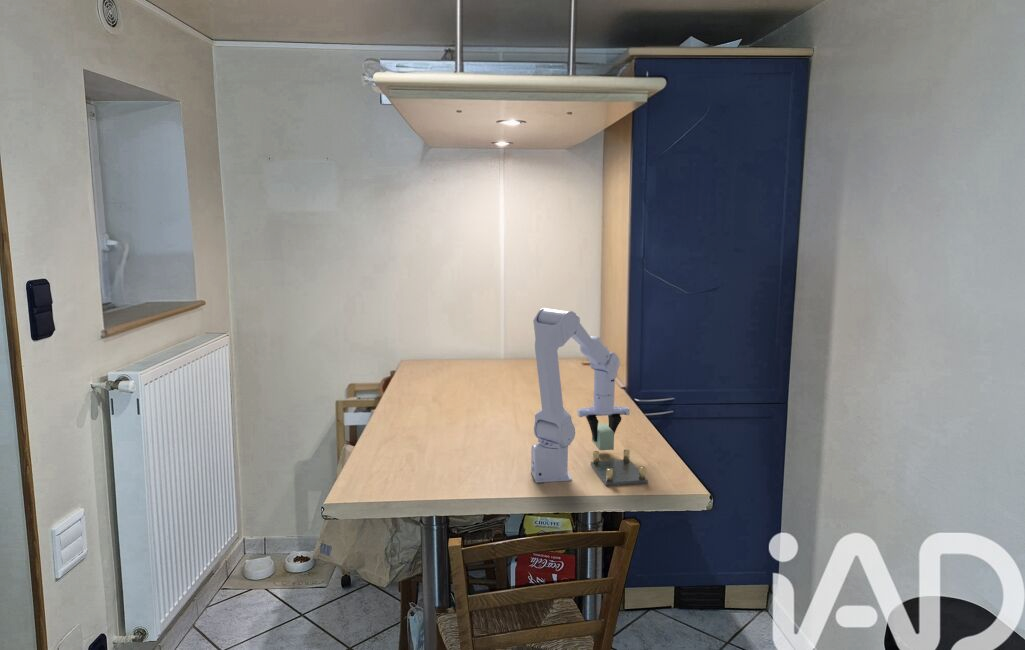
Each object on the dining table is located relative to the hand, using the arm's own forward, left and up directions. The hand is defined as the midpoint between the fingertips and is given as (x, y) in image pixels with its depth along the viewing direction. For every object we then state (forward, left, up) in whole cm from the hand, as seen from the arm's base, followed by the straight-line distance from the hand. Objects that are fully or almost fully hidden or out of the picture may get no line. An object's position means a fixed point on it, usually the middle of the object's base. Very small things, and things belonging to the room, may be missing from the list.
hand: (602, 440), depth 197 cm
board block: (0, 0, -2) cm, 2 cm away
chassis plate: (0, -14, -4) cm, 15 cm away
